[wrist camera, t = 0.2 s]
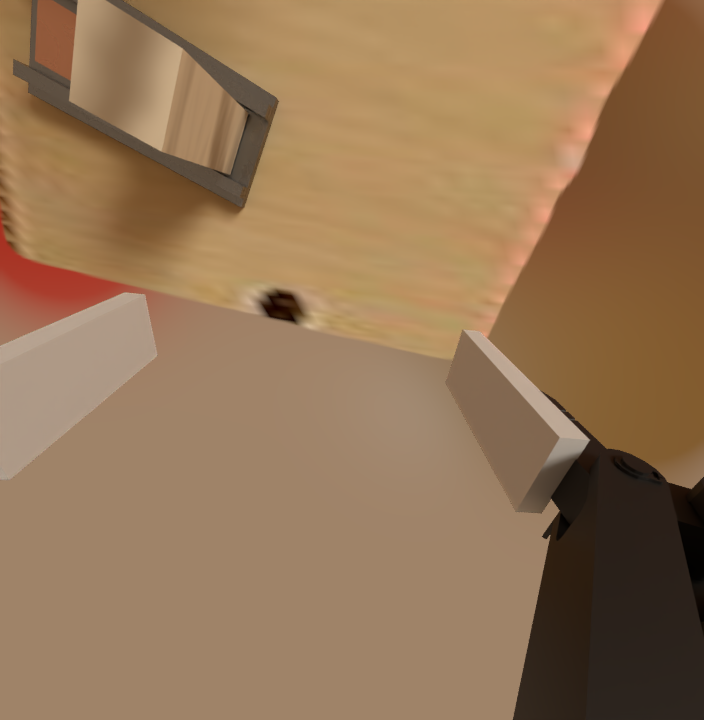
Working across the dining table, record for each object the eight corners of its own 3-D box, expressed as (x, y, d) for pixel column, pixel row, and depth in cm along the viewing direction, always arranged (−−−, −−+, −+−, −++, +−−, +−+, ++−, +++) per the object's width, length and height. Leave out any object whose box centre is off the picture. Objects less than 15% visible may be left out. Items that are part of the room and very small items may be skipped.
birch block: (248, 113, 30) (182, 48, 19) (230, 174, 33) (161, 151, 21) (189, 77, 29) (79, -17, 17) (174, 143, 31) (68, 101, 20)
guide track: (278, 101, 31) (272, 92, 29) (244, 207, 35) (236, 207, 33) (45, -46, 26) (16, -71, 24) (37, 96, 31) (12, 86, 28)
